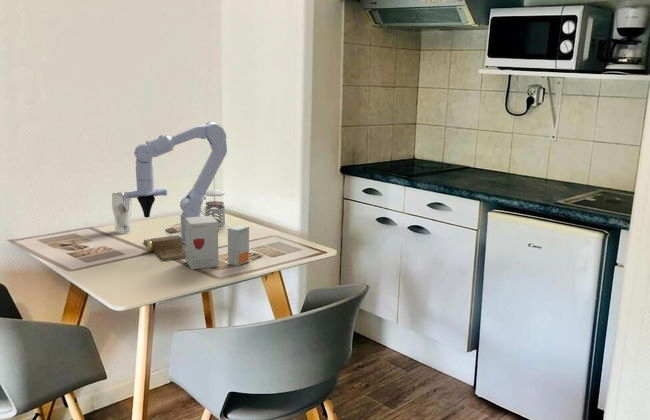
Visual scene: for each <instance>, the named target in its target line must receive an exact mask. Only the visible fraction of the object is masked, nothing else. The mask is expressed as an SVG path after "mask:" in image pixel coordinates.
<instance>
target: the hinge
mask: <svg viewBox="0 0 650 420" xmlns="http://www.w3.org/2000/svg"><path fill="white" fill-rule="evenodd" d="M147 241H152V243H154V248H153V251H152V252H153V253H154V254H155V255H156V256H157V257H158V258H159V259H161V260H162V261H163V262H167V261H171V260H172V261H173V259H174V260H179V259H186V249H184V248H183V243H182V238H181V235H178V234H177V235H172V236H171V235H169V236H161V237H155V238H154V237H153V238H149V239H143V244H145V246H147ZM166 260H167V261H166Z"/></svg>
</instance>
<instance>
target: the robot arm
mask: <svg viewBox="0 0 650 420" xmlns="http://www.w3.org/2000/svg"><path fill="white" fill-rule="evenodd" d="M195 139H201V140H207V141H208V143H209V147H210V149H211V152H210V154H209V156H208V158H207V160H206V162H205V163H204V164H203V165H204V166H203V168H202V169H201V170H200V173H199V175H198V177H197V179H196V181H195V183H194V184H193V186H192V188H191V189H190V190H189V192H188V193H187V194H186V196H185V197H183V198H182V199H181V201H180V203H179V207H180V210H181V211H182V213H181V214H180V237H181V238H182V244H184V245H185V218H187V217H201V216H202V214H201V213H202V212H201V211H202V205H203V202H204V196H206V195H205V193H206V191H208V190H209V187H210V185H211V184H212V182H213V181H214V179H215V176H216V174H217V173H218V170H219V168H220V166H221V165H222V163H223V161H224V159H225V157H226V155H227V153H228V148H227V133H226V132H225V130H224V128H223V126H222V125H220V124H218V123H216V122H214V121H208V122H206V123H202V124H201V123H200V124H198V125H195V126H193V127H191V128H188V129H186V130H184V131H182V132H179V133H177V134H174V135H173V136H168V135H166V134H165V135H162V134H160V135H158V138H155V139H153V140H150V141H149V140H146V141H145V144H144V143H141V144H138V145H137V146H136V147H135V148H134V152H133V153H134V154H133V155H134V156H135V164H136V165H135V179H136V190H135V191H134V190H133V191H124V192H125V193H124V198H125V199H128V198H131V199H134V198H135V199H137V201H138V203H139V205H140V208H141V209H142V213H143V217H144V218H146V219H147V218H150V217H151V215H150V214H151V210H152V208H153V204H154V202H155V201H156V197H158V196H159V197H160V196H165V197H166V196H168V190H167V189H164V188H163V189H155V185H154V166H153V159H154V158H157V157H159V156H162V155H165V154H167V153H170V152H172V151H173V150H174V148H175V146H177V145H180V144H184V143H186V142H188V141H192V140H195ZM200 212H201V213H200Z"/></svg>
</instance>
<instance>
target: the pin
mask: <svg viewBox="0 0 650 420" xmlns="http://www.w3.org/2000/svg"><path fill="white" fill-rule="evenodd" d="M146 248H147V251H148V252H149V253H150V252H153V248H154V243H152V241H147V245H146Z"/></svg>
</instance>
